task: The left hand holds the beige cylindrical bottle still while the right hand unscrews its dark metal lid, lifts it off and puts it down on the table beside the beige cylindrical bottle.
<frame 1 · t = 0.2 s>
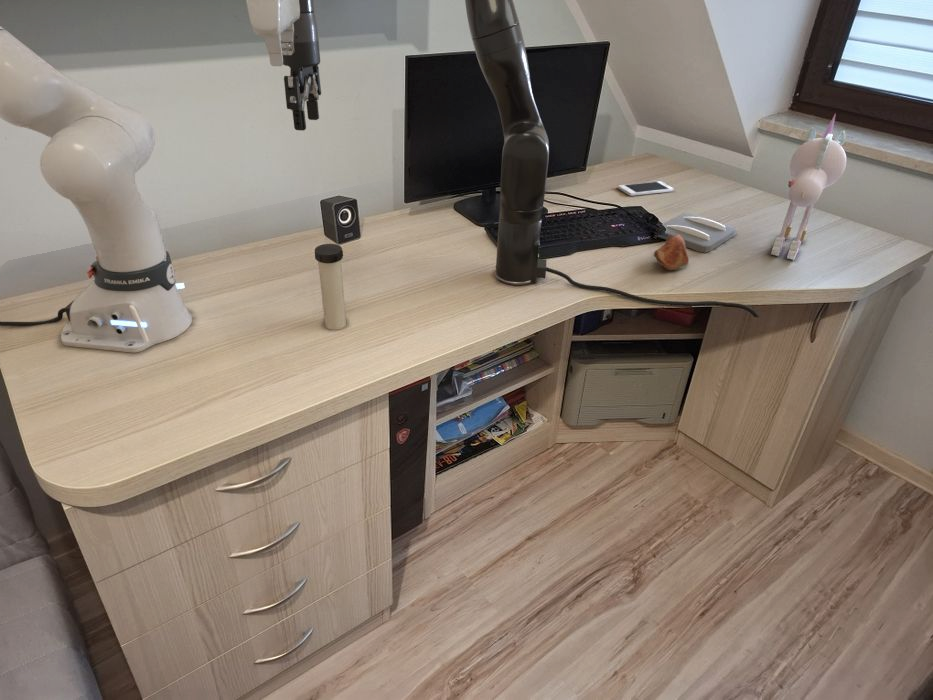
left hand: (283, 59, 98), 48 cm above the table, tool pointing down, fingers open, 8 cm apart
right hand: (307, 124, 131), 31 cm above the table, tool pointing down, fingers open, 8 cm apart
beige cylindrical bottle: (335, 324, 125), on the table
lid: (328, 250, 116), point 16 cm above the table, screwed on, not yet turned
smartphone: (645, 190, 196), on the table
toy: (791, 239, 168), on the table
light switch: (694, 235, 168), on the table
fossil: (668, 265, 152), on the table
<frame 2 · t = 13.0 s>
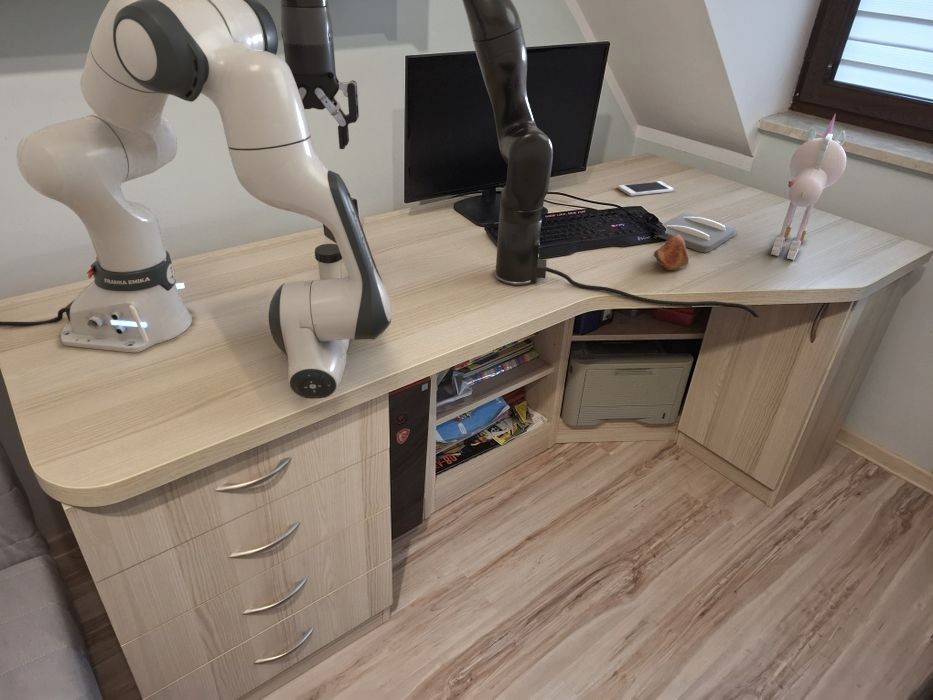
left hand: (333, 293, 122), 6 cm above the table, tool horizontal, fingers closed on beige cylindrical bottle, 4 cm apart
right hand: (318, 147, 106), 35 cm above the table, tool pointing down, fingers open, 7 cm apart
beige cylindrical bottle: (335, 324, 125), on the table, touching left hand
everything else where it was.
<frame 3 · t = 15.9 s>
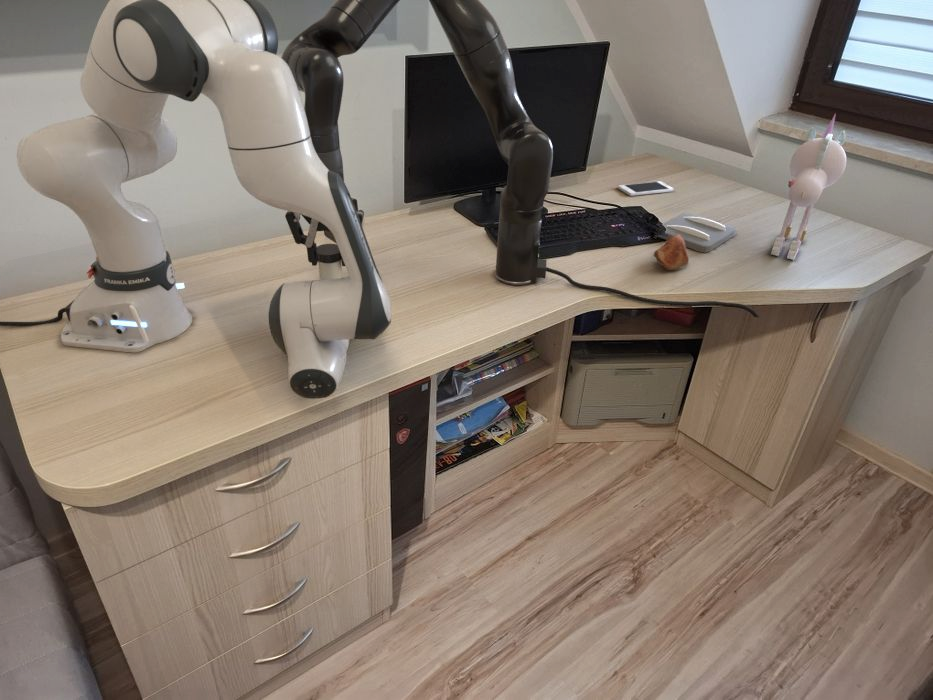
left hand: (333, 293, 122), 6 cm above the table, tool horizontal, fingers closed on beige cylindrical bottle, 4 cm apart
right hand: (329, 263, 118), 13 cm above the table, tool pointing down, fingers closed on lid, 5 cm apart
beige cylindrical bottle: (335, 324, 125), on the table, touching left hand
lid: (328, 250, 116), point 16 cm above the table, screwed on, not yet turned, touching right hand
everything else where it was.
when the right hand's fingers open (13 cm above the table, at t = 17.2 s): lid stays where it is, point 16 cm above the table.
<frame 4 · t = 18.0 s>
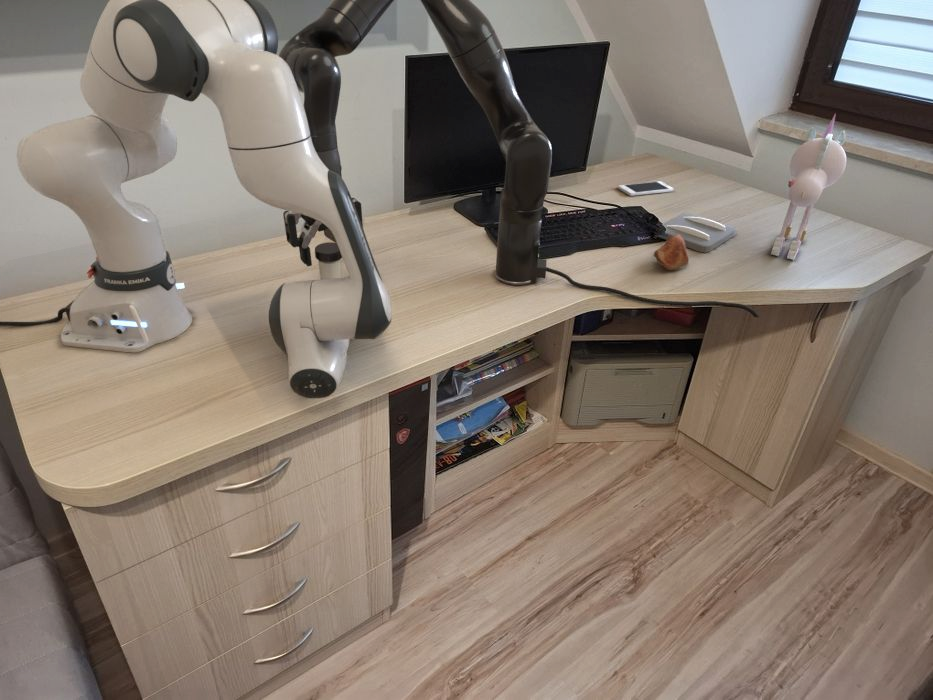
left hand: (333, 293, 122), 6 cm above the table, tool horizontal, fingers closed on beige cylindrical bottle, 4 cm apart
right hand: (328, 259, 118), 14 cm above the table, tool pointing down, fingers open, 7 cm apart
beige cylindrical bottle: (336, 324, 125), on the table, touching left hand
lid: (328, 249, 116), point 16 cm above the table, turned 74° so far, risen 0.3 cm, still on its thread
everything else where it was.
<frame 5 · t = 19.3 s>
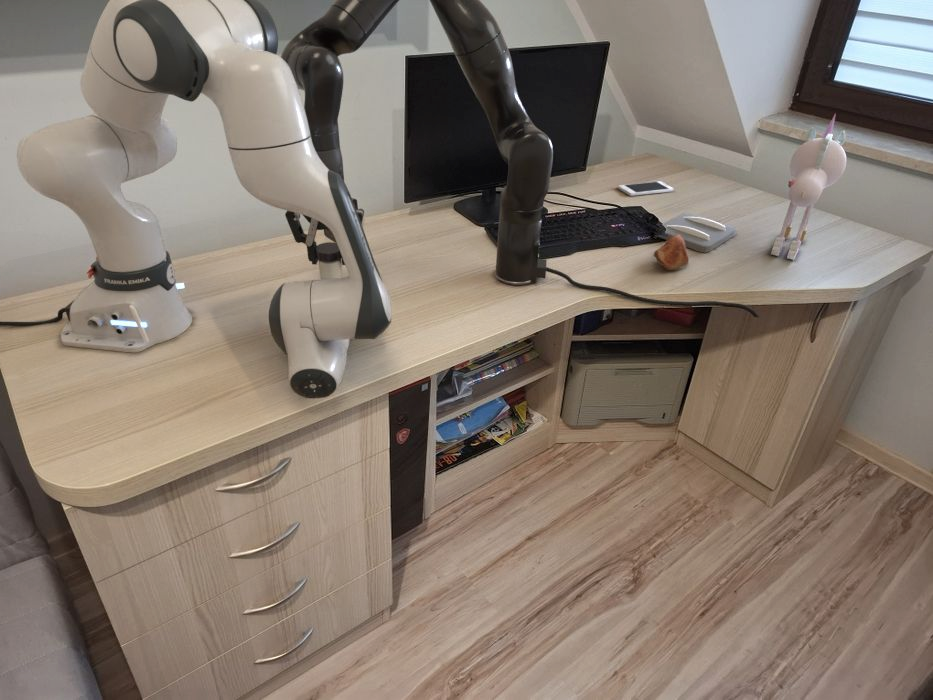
left hand: (333, 293, 122), 6 cm above the table, tool horizontal, fingers closed on beige cylindrical bottle, 4 cm apart
right hand: (329, 262, 118), 13 cm above the table, tool pointing down, fingers closed on lid, 5 cm apart
beige cylindrical bottle: (336, 324, 125), on the table, touching left hand
lid: (328, 249, 116), point 16 cm above the table, turned 74° so far, risen 0.3 cm, still on its thread, touching right hand
everything else where it was.
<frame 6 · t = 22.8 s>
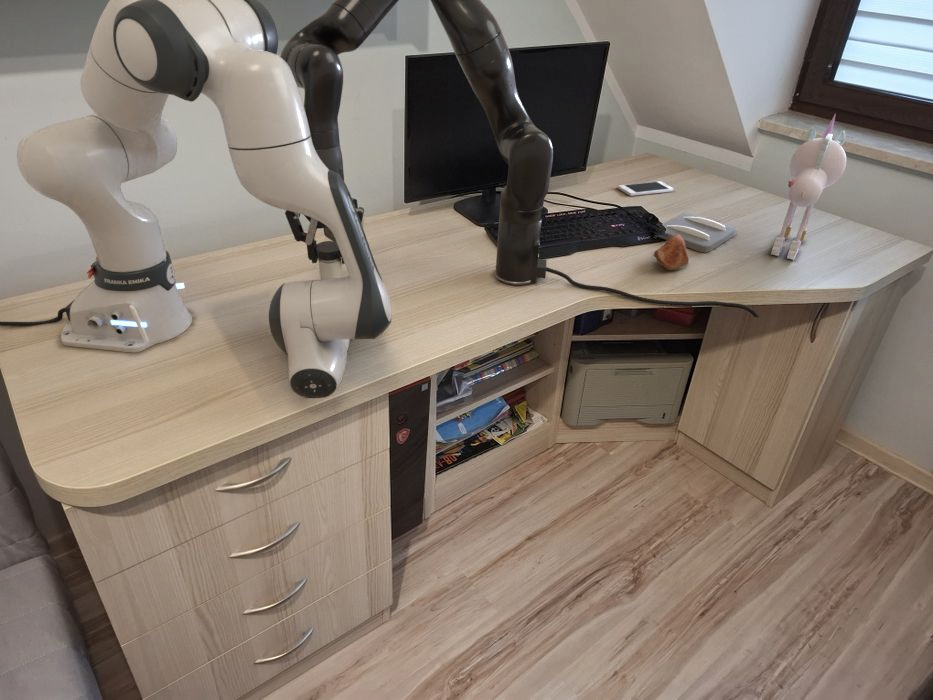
left hand: (333, 293, 122), 6 cm above the table, tool horizontal, fingers closed on beige cylindrical bottle, 4 cm apart
right hand: (329, 261, 118), 14 cm above the table, tool pointing down, fingers closed on lid, 5 cm apart
beige cylindrical bottle: (336, 324, 125), on the table, touching left hand
lid: (328, 248, 116), point 16 cm above the table, turned 148° so far, risen 0.5 cm, still on its thread, touching right hand
everything else where it was.
when the right hand's fingers open (0 cm above the table, at t = 30.6 s): lid drops 2 cm, point 1 cm above the table.
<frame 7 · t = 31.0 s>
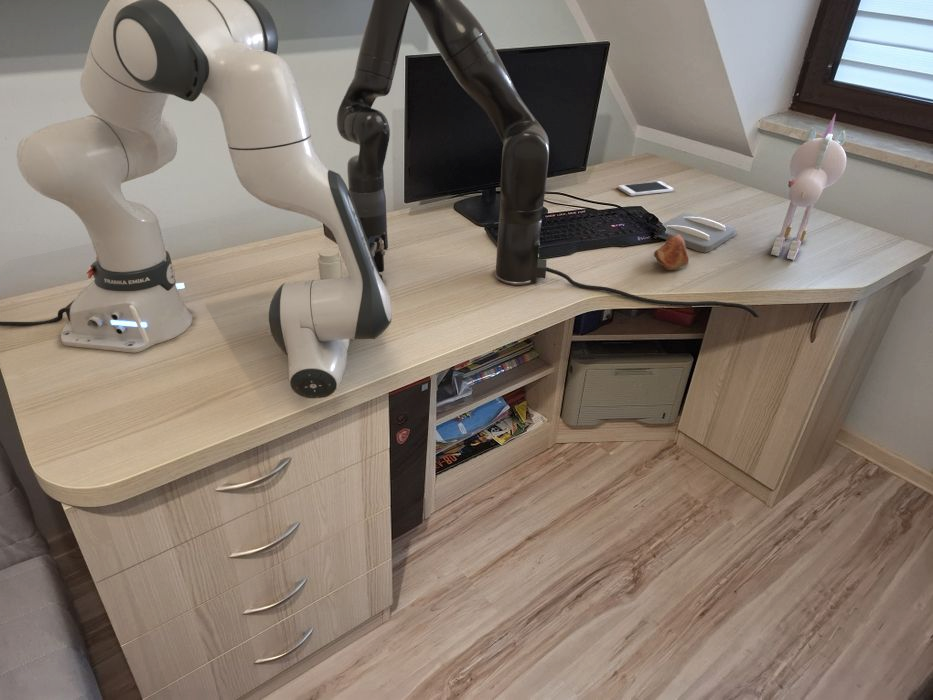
left hand: (333, 292, 122), 6 cm above the table, tool horizontal, fingers closed on beige cylindrical bottle, 4 cm apart
right hand: (371, 279, 139), 1 cm above the table, tool pointing down, fingers open, 8 cm apart
beige cylindrical bottle: (335, 323, 125), on the table, touching left hand
lid: (371, 278, 139), point 1 cm above the table, off its thread
everything else where it was.
when the left hand's fingers open (6 cm above the table, at t = 31.7 s): beige cylindrical bottle stays where it is, on the table.
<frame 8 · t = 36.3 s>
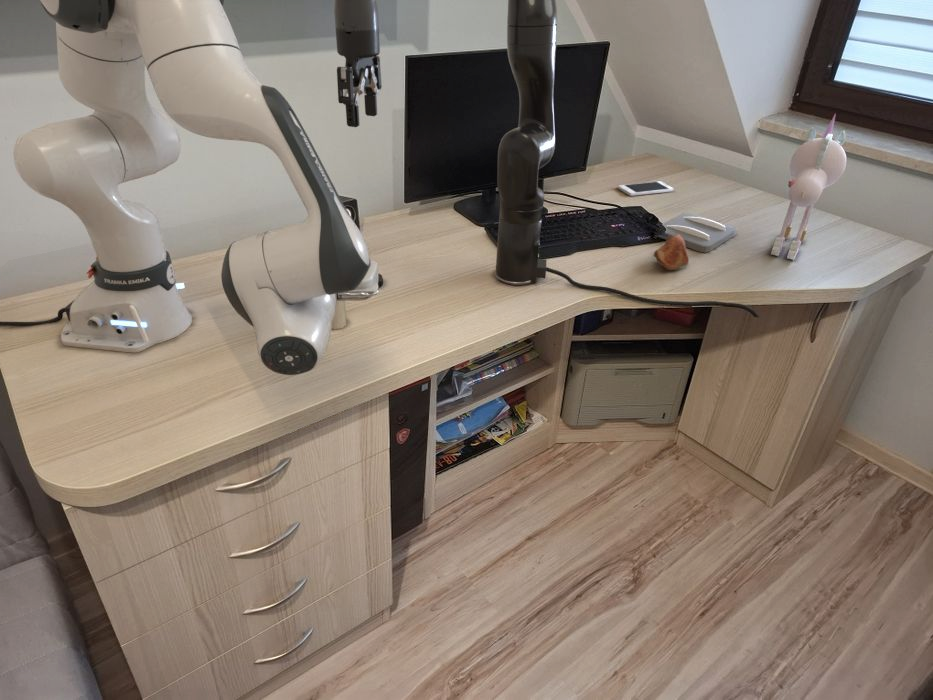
left hand: (318, 256, 105), 20 cm above the table, tool horizontal, fingers open, 8 cm apart
right hand: (362, 120, 120), 35 cm above the table, tool pointing down, fingers open, 8 cm apart
beige cylindrical bottle: (336, 323, 125), on the table
everything else where it was.
at the end: lid came off its thread; lid point 1.3 cm above the table; the left hand is holding nothing; the right hand is holding nothing; beige cylindrical bottle tilted 0°; beige cylindrical bottle moved 0.2 cm from its start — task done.
